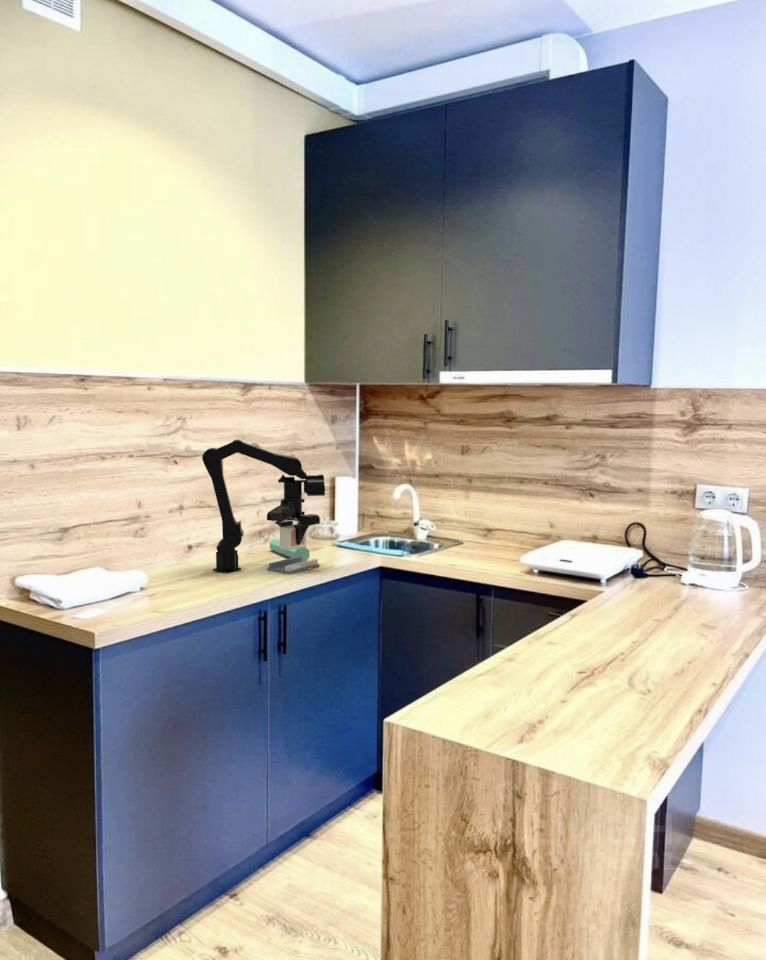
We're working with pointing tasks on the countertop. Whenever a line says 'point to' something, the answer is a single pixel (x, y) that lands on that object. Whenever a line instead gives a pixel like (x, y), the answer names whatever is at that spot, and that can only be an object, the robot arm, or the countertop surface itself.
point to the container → (293, 553)
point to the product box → (290, 538)
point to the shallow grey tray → (292, 565)
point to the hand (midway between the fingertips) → (293, 544)
